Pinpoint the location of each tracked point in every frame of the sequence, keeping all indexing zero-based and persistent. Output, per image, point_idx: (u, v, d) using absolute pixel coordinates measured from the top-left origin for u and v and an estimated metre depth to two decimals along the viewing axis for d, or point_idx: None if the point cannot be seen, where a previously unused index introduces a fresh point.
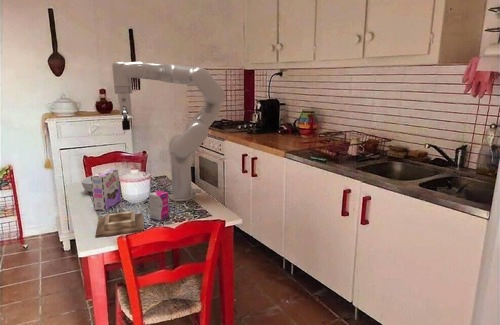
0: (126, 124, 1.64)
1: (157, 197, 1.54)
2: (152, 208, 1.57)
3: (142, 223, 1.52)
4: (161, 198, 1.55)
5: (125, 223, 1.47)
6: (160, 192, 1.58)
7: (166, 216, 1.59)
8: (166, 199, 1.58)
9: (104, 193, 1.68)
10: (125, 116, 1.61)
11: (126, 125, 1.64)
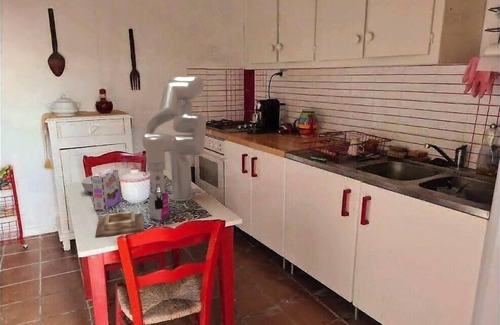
0: (159, 203, 1.52)
1: None
2: (152, 208, 1.57)
3: (142, 223, 1.52)
4: (162, 198, 1.55)
5: (125, 223, 1.47)
6: None
7: (166, 216, 1.59)
8: (166, 199, 1.58)
9: (104, 193, 1.68)
10: (159, 196, 1.49)
11: (159, 204, 1.52)
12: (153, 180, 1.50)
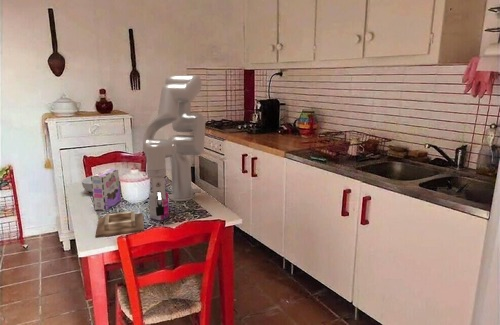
0: (160, 210, 1.54)
1: (157, 197, 1.54)
2: (152, 208, 1.57)
3: (142, 223, 1.52)
4: None
5: (125, 223, 1.47)
6: None
7: (166, 216, 1.59)
8: (166, 199, 1.58)
9: (104, 193, 1.68)
10: (160, 203, 1.51)
11: (160, 211, 1.54)
12: (154, 187, 1.51)
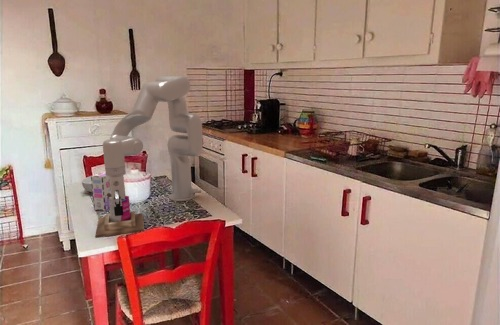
0: (119, 210, 1.45)
1: None
2: (112, 212, 1.49)
3: (142, 223, 1.52)
4: None
5: (125, 223, 1.47)
6: None
7: None
8: (127, 203, 1.50)
9: (104, 193, 1.68)
10: (117, 202, 1.42)
11: (119, 211, 1.45)
12: (111, 186, 1.43)
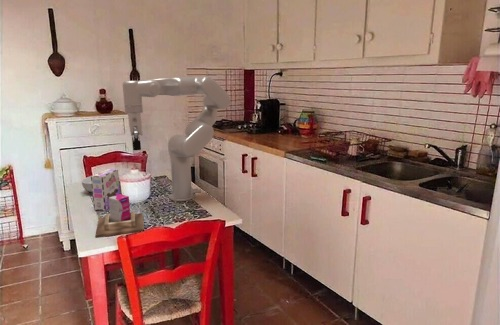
0: (137, 144, 1.60)
1: (116, 201, 1.46)
2: (112, 212, 1.49)
3: (142, 223, 1.52)
4: (121, 202, 1.48)
5: (125, 223, 1.47)
6: (121, 196, 1.50)
7: None
8: (127, 203, 1.50)
9: (104, 193, 1.68)
10: (136, 136, 1.57)
11: (137, 145, 1.60)
12: (130, 122, 1.58)
